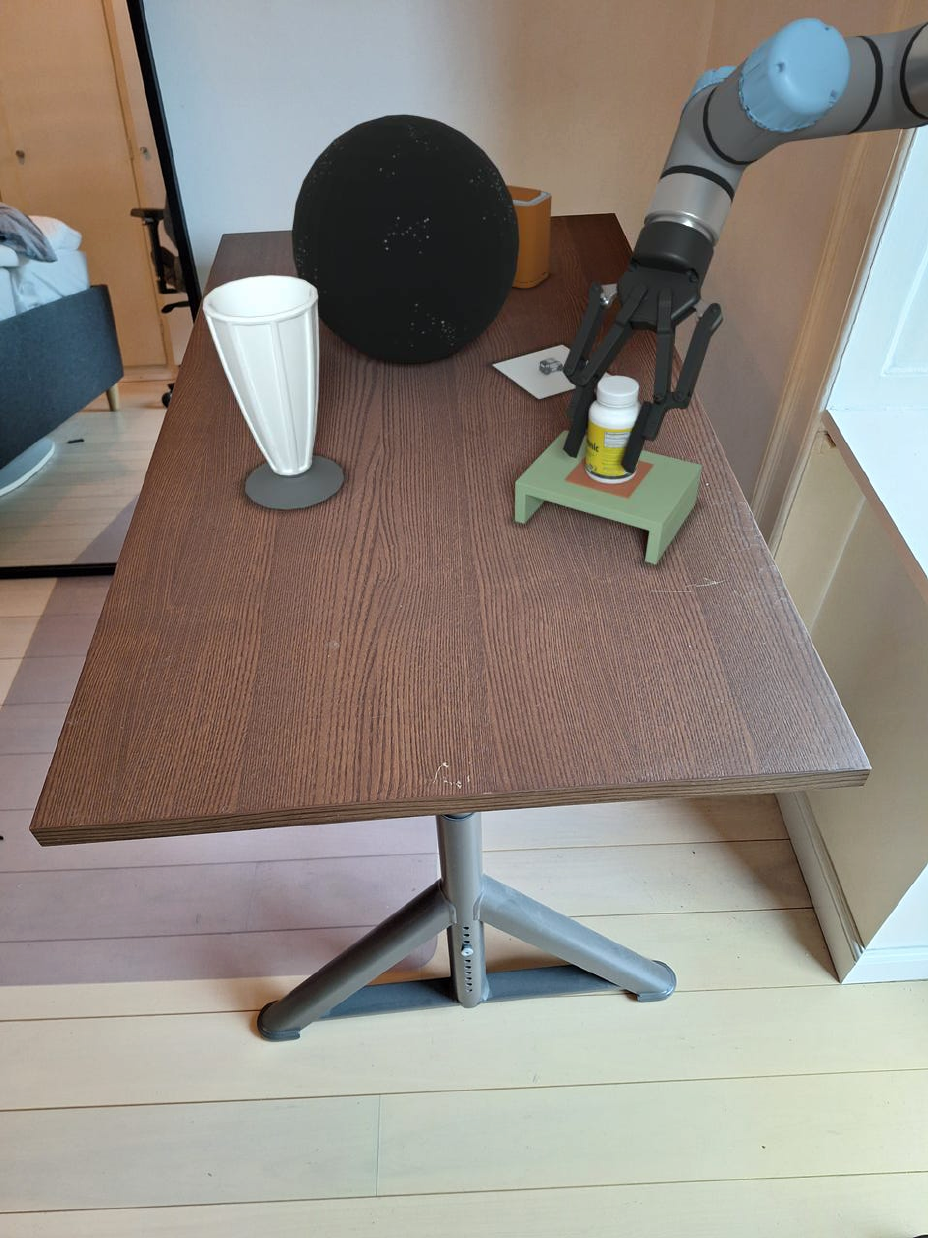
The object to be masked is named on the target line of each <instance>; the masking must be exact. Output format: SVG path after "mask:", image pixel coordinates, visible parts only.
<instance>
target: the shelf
mask: <svg viewBox="0 0 928 1238" xmlns="http://www.w3.org/2000/svg"><path fill="white" fill-rule="evenodd" d="M568 433H569V430H563V431H562V432H561V433H560V434H559V435H558V436H557V437H556V438H555V439H554V441H552V443H551V444H550V445H549V446H547V448H546V449H545V450H544V451H543V452H542V453H541V454H540V455H539V456H538V457H537V459H536V460H534V461H533V463H531V465H529V467H527V469H526V470H525V471H524V472H523V473H522V474H521V475H520V476H519V477H518V478H517V480H516V481H515V483H514V491H515V492H514V522H517V523H520V524H522V525H525V524H526V523H527V522H528V520H529V519H530V518H532V516H533V515H534V514H535V513H536V511H537V510H538V509H539V508H540V507H541V506H542V505H543V503H545V501H546V502H551V503H553V504H557V505H559V506H560V505H561V506H563V507H567V508H571V509H573V510H577V511H581V512H585V513H587V514H591V515H594V516H597V517H601V518H604V519H608V520H612V521H615V522H618V523H622V524H625V525H627V526H632V527H635V528H639V529H642V530H646V531H648V537H647V544H646V550H645V551H646V552H645V558H644V561H645V563H650V564H652V565H657V564H658V562H659V561H660V560H661V558H662V556H663V555H664V553H665V552H666V550H667V549H668V547H669V546H670V544H671V543H672V541H673V539H674V538H675V536H676V535H677V533H678V532H679V530H680V529H681V527H682V525H683V524H684V522H685V521H686V519H688V516H689V515H690V513H691V512H692V510H693V509H694V507H695V505H696V502H697V497H698V493H699V491H698V490H699V486H700V481H701V475H702V471H703V470H702V469H703V464H700V463H699V464H698V463H695V462H692V461H687V460H683V459H679V458H675V457H671V456H667V455H663V454H659V453H657V452H656V453H655V452H652V451H647V450H643V449H642V451H641V454H640V457H639V459H638V464H637V471H636V474H635V475H634V477H633V478H631V479H630V480H628V481H626V482H623V483H617V484H607V483H601V482H598V481H596V480H594V479H592V478H591V477H590V476H589V475H588V474H587V473H586V471H585V455H586V441H587V435H585V436H584V439H583V442H582V444H581V447H580V450H579V453H578V455H577V458H573V457H570V456H569V455H568V454H567V453H566V452H565V451H564V450H563V447H564V444H565V441H566V438H567V436H568Z"/></svg>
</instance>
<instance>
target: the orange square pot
mask: <svg viewBox="0 0 928 1238" xmlns="http://www.w3.org/2000/svg"><path fill="white" fill-rule="evenodd" d="M506 186H507V188H508V190H509V192H510V194H511V196H512V200H513V203H514V207H515V211H516V214H517V218H518V229H519V241H520V243H519V253H518V262H517V271H516V275H515V278H514V280H516V281H521V282H528V283H521V282H515V281H513V285H512V288H517V289H518V288H519V289H531V288H533V287H536V286H538V284H540V283H541V282H543V281H544V280H546V279H547V278H548V277H549V275H550V274H549V273H550V247H551V223H552V220H551V219H552V200H553V199H552V197H553V195H552V194H551V193H550V192H548V191H543V190H541V189H535V188H530V187H523V186H522V187H521V186H516V185H510V184H506ZM548 269H549V271H548V272H547V273H545V274H544V275H542V274H543V273H544V272H546V271H547V270H548ZM541 275H542V276H541ZM539 276H541V277H540V278H538V277H539ZM537 278H538V279H537ZM535 279H537V280H535ZM533 280H535V281H533ZM529 281H533V282H529Z"/></svg>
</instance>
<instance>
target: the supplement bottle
mask: <svg viewBox="0 0 928 1238" xmlns="http://www.w3.org/2000/svg"><path fill="white" fill-rule="evenodd" d="M596 387H597V388H596V395H597V400H595V401H594V402H593V403H592V404H591V406H590V408H589V413H588V427H587V430H586V436H587V441H586V455H585V471H586V473H587V474H588V475H589V476H590V477H591V478H592V479H594V480H596V481H598V482H601V483H607V484H617V483H623V482H626V481H628V480H630V479H631V478H633V477H634V475H635V474H636V471H637V465H636V468H635V471H634V473H629V472H626V471H625V469H624V468H623V467H622V465H621V462H622V459H623V457H624V454H625V451H626V448H627V446H628V443H629V440H630V437H631V435H632V432H633V429H634V426H635V424H636V421H637V418H638V415H639V412H640V410H641V407H642V404H641V403H640V402H639V401H638V399H639V393H640V384H639V382H638V381H637V380H635V379H634V378H631V377H629V376H624V375H611V376H610V377H606V378H603V379H602V380H600V381H599V383H598V384H597V386H596ZM637 464H638V462H637Z"/></svg>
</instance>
